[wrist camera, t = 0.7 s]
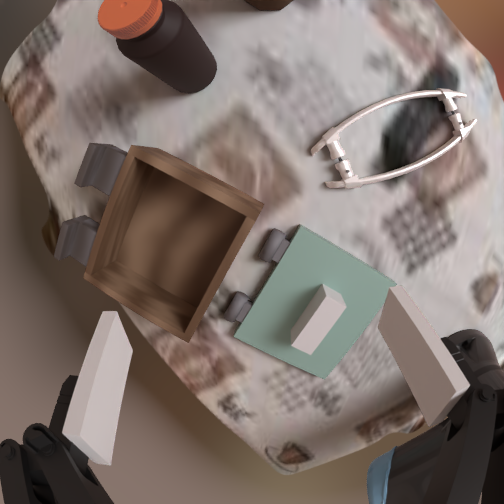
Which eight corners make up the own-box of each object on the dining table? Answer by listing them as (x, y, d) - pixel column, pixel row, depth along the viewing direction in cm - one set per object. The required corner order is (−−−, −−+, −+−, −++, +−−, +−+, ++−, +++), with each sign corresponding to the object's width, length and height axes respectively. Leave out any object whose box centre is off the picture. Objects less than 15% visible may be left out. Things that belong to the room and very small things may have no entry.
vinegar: (192, 41, 34) (129, -35, 14) (228, 66, 34) (183, -12, 15) (159, 76, 35) (74, 24, 16) (193, 103, 36) (119, 55, 17)
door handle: (476, 140, 33) (334, 204, 38) (450, 78, 32) (301, 134, 36) (486, 139, 31) (338, 206, 36) (458, 74, 29) (302, 131, 34)
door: (393, 280, 40) (407, 295, 34) (323, 373, 45) (327, 396, 39) (281, 213, 39) (281, 221, 34) (218, 322, 44) (210, 342, 38)
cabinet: (264, 204, 39) (258, 215, 29) (203, 314, 44) (183, 351, 34) (134, 136, 38) (94, 130, 28) (91, 247, 43) (51, 266, 33)
